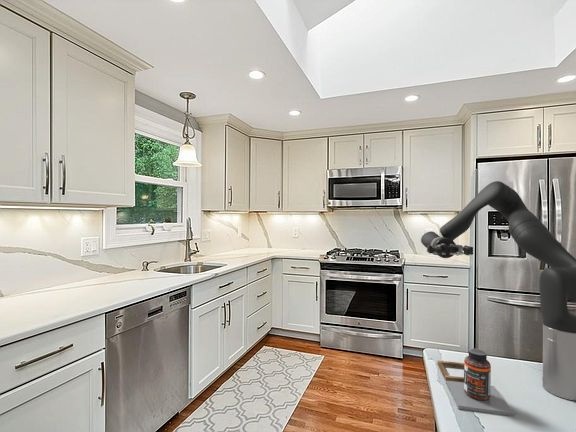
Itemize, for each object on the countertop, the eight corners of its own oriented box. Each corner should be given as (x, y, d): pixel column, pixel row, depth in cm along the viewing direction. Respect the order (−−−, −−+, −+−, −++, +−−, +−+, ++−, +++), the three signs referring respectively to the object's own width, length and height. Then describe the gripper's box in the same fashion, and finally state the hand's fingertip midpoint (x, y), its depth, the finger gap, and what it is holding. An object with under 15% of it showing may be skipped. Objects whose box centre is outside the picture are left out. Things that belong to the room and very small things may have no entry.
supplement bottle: (463, 397, 81) (464, 353, 81) (463, 386, 86) (463, 344, 86) (491, 404, 78) (491, 358, 78) (489, 392, 83) (489, 349, 83)
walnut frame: (473, 368, 98) (473, 364, 98) (486, 385, 88) (486, 381, 88) (437, 364, 101) (437, 360, 101) (445, 381, 90) (445, 376, 90)
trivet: (493, 388, 86) (493, 385, 86) (514, 416, 75) (514, 412, 75) (445, 383, 89) (445, 380, 89) (458, 408, 77) (458, 405, 77)
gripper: (422, 236, 123) (431, 240, 108) (463, 237, 120) (478, 241, 104) (422, 256, 123) (431, 262, 108) (463, 257, 120) (478, 263, 104)
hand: (454, 251), depth 106 cm, fingers open, 8 cm apart
